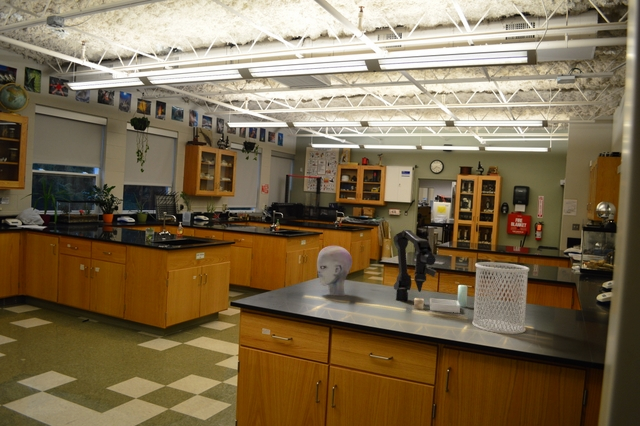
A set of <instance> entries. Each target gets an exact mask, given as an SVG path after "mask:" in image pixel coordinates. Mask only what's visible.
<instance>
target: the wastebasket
mask: <svg viewBox="0 0 640 426" xmlns="http://www.w3.org/2000/svg"><path fill="white" fill-rule="evenodd" d="M474 265H475V267H476V269H475V272H476V273H475V286H474V289H475V290H474V303H473V304H474V305H473V307H474V308H473V320H472V322H471V323H472V325H473V326H474V327H475V328H477V329H481V330H483V331H487V332H489V333H490V332H492V333H498V334H506V335H507V334H508V335H512V334H513V335H517V334H522V333H525V332H526V331H527V330H526V327H525V326H526V323H525V322H526V308H527V307H526V306H527V294H528V293H527V291H528V277H529V276H528V275H529V273H528V272H530V267H527V266H525V265H520V264H514V263H506V262H495V261H493V262H491V261H483V262H482V261H480V262H476V263H475V264H474ZM506 290H507V291H506ZM509 299H510V300H509ZM499 303H500V304H499ZM501 307H502V308H501ZM505 308H506V309H505ZM508 317H509V318H508Z"/></svg>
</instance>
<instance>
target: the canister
mask: <svg viewBox="0 0 640 426" xmlns="http://www.w3.org/2000/svg"><path fill="white" fill-rule="evenodd" d="M457 285H458V284H457ZM467 299H468V285H465V284H459V285H458V287H457V301H458V302H459V304H460V308H467Z"/></svg>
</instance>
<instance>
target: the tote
mask: <svg viewBox="0 0 640 426" xmlns="http://www.w3.org/2000/svg"><path fill="white" fill-rule="evenodd" d="M429 309H430V310H429V311H432V312H433V311H434V312H445V313H453V312H454V313H456V314H460V313H461V312H460V311H461V307H460V304H459V302H458V299H457V300H456V299H455V300H453V299H443V298H433V297H430V298H429Z"/></svg>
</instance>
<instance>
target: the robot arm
mask: <svg viewBox="0 0 640 426" xmlns="http://www.w3.org/2000/svg"><path fill="white" fill-rule="evenodd" d="M393 242H394V247H396V249H397V259H398V261H397V262H398V275H397V276H396V281H395V283H394V284H393V289H394V290H396V293H395V294H396V296H395V300H396V301H404V302H407V301H408V300H409V292H408V291H410V290H411V288H412V284H413V282H412V276H411V275H410V274H409V273H408V263H407V247H408V245H409V242H410V243H411V244H413V248H414V249H415V251H414V254H415V270H414V282H415V284H416V289H417V290H418V292H419V293H421V292H422V288H423V285H424V284H423V283H425V282H427V275H429V276H431V277H432V278H435V277H436V274H437V270H435V268H434V267H433V266H432V265H434V264H436V257H435V255H433V250H432V247H431V245H430V241H428V239H425V238H421V237H419V236H418V235H417V234H415V232H413V231H412V230H410V229H404V230H402V231H400V232H397V233H396V234H395V235H394V236H393ZM427 265H428V266H427ZM429 266H430V267H429Z"/></svg>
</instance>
